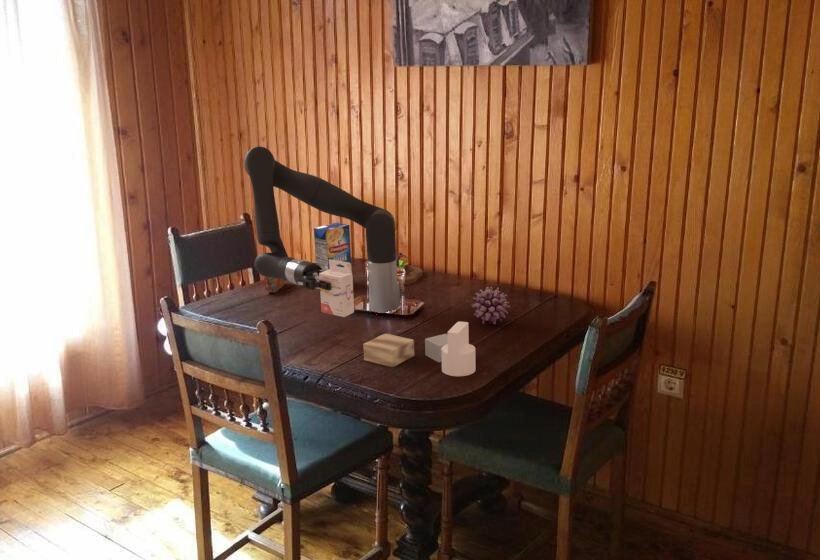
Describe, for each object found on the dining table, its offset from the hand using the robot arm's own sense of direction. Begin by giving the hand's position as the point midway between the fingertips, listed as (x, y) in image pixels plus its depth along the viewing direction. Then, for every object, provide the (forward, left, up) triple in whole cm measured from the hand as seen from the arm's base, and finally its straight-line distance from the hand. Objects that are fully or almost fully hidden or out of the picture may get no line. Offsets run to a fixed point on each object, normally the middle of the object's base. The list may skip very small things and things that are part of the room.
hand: (338, 284), depth 227 cm
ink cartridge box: (0, -1, -9) cm, 9 cm away
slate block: (-17, +23, -20) cm, 35 cm away
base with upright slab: (-13, +33, -20) cm, 41 cm away
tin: (-22, -67, -20) cm, 73 cm away
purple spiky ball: (-46, +15, -20) cm, 53 cm away
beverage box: (-39, -54, -20) cm, 69 cm away
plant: (-61, -46, -21) cm, 79 cm away
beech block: (-6, +13, -20) cm, 25 cm away
